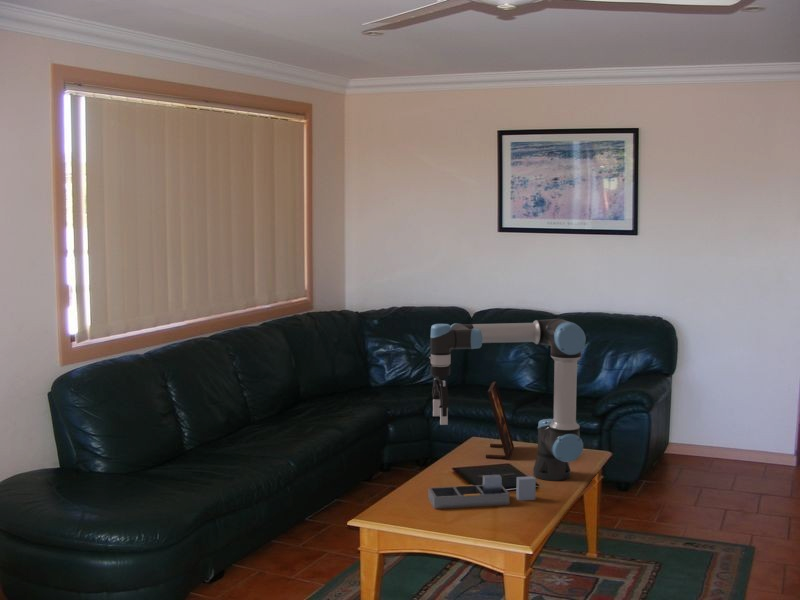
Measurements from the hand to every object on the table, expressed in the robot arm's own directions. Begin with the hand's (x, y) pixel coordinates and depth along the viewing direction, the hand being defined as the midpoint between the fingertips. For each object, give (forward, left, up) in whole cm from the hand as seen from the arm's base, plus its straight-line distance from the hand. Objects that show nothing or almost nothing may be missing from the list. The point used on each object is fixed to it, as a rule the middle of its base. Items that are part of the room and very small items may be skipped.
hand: (440, 420), depth 344 cm
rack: (-8, +13, -28) cm, 32 cm away
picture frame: (-37, -48, -28) cm, 67 cm away
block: (-30, +13, -28) cm, 43 cm away
